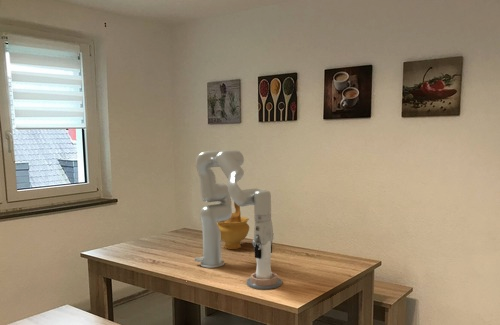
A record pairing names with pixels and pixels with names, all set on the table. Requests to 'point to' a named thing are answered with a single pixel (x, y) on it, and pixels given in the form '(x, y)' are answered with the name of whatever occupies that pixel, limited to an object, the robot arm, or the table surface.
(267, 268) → the water bottle
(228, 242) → the decorative bowl
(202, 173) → the robot arm
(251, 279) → the ring plate
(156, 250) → the table surface
